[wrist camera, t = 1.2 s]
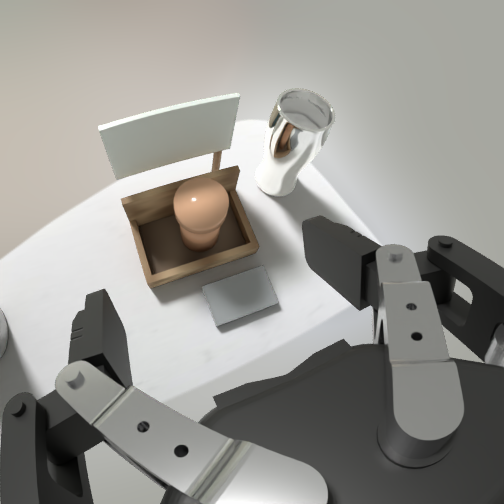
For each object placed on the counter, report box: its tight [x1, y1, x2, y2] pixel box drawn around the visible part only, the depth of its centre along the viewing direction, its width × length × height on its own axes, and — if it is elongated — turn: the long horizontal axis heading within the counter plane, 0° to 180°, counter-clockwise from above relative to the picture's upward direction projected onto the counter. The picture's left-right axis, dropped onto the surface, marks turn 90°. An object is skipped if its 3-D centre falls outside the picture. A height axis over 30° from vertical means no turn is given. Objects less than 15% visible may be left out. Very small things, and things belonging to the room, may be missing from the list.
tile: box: [202, 265, 279, 327], centre depth 39 cm, size 8×5×1 cm, turn 112°
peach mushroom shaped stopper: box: [174, 177, 229, 252], centre depth 36 cm, size 6×6×9 cm
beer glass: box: [255, 88, 335, 197], centre depth 38 cm, size 7×7×15 cm
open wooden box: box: [121, 151, 259, 288], centre depth 36 cm, size 14×13×12 cm
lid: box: [99, 93, 240, 180], centre depth 31 cm, size 14×1×9 cm, turn 112°
